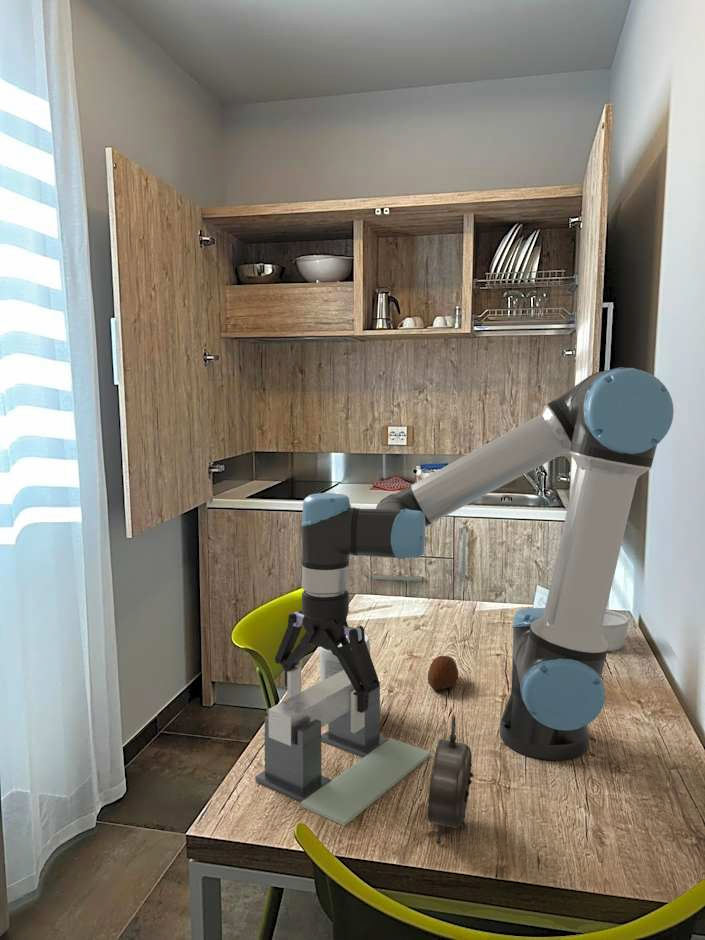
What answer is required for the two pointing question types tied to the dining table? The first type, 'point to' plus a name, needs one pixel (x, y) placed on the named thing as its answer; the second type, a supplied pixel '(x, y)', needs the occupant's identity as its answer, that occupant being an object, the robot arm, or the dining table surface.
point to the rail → (311, 707)
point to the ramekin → (614, 629)
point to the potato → (442, 672)
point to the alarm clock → (449, 783)
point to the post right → (363, 738)
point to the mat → (365, 781)
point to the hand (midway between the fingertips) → (324, 717)
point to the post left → (294, 763)
